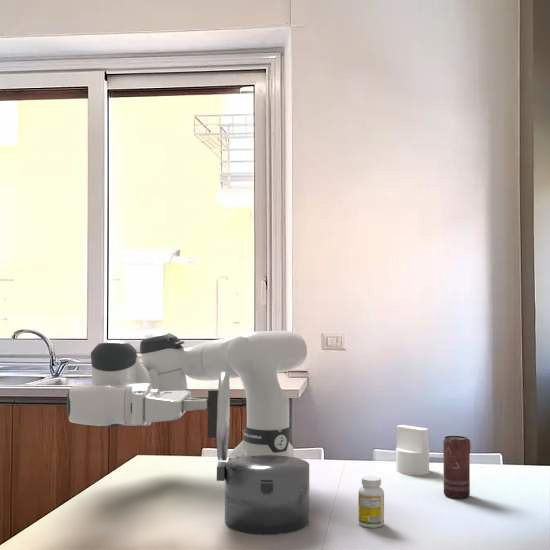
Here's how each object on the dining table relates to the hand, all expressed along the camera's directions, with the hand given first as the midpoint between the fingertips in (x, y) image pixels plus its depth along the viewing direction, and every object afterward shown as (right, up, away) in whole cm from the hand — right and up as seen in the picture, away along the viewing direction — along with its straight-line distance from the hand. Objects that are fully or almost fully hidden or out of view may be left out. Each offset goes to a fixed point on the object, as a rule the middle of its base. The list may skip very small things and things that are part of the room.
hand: (207, 404), depth 150 cm
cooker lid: (+4, -3, +2) cm, 5 cm away
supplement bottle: (+35, -25, -1) cm, 43 cm away
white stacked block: (+52, -27, +46) cm, 75 cm away
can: (+58, -26, +21) cm, 67 cm away
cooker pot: (+13, -25, +1) cm, 28 cm away
